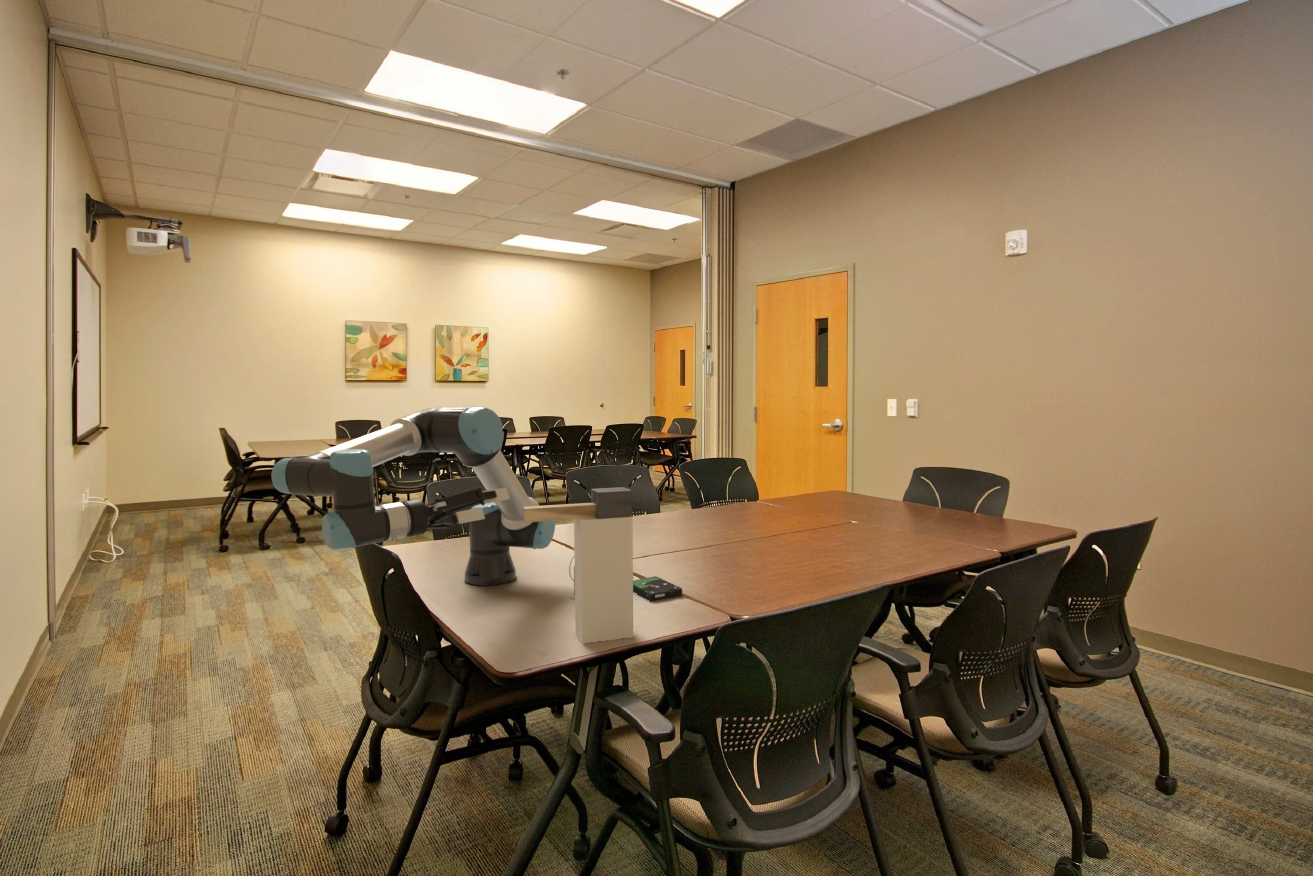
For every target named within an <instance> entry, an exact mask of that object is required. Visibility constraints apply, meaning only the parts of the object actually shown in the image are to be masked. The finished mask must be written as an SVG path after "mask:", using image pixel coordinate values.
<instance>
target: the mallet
mask: <svg viewBox="0 0 1313 876" xmlns="http://www.w3.org/2000/svg"><path fill="white" fill-rule="evenodd" d="M632 495H633V494H632V490H631V489H629V488H627V487H624V486H622V487H620V486H619V487H603V488H602V487H601V488H591V489H590V499H591V500H590V501H591V502H584V503H567V504H566V503H565V504H564V503H563V504H551V505H540V506H530V507H523V521H524V522H525V523H528V522H542V521H555V522H556V521H568V520H569V521H570V520H574V519H587V518H597V519H605V518H620V517H632V518H633V508H632V507H633V503H632V502H633V499H632V497H633V496H632Z"/></svg>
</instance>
